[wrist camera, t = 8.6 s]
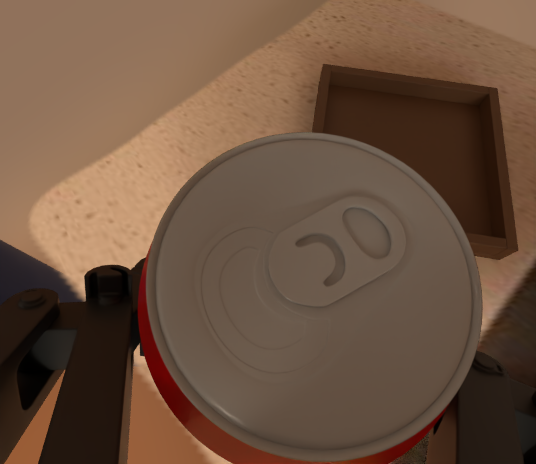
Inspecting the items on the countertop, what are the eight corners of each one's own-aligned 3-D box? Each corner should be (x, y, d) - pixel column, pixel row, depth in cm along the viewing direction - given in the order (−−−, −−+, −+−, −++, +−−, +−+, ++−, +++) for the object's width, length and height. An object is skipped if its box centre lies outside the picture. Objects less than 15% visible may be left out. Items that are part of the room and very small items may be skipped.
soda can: (368, 365, 20) (617, 339, 6) (251, 445, 18) (231, 661, 4) (296, 255, 22) (357, 62, 9) (188, 316, 21) (48, 197, 7)
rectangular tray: (297, 226, 27) (300, 215, 25) (319, 81, 33) (323, 63, 31) (499, 259, 26) (518, 250, 24) (483, 105, 32) (497, 87, 30)
